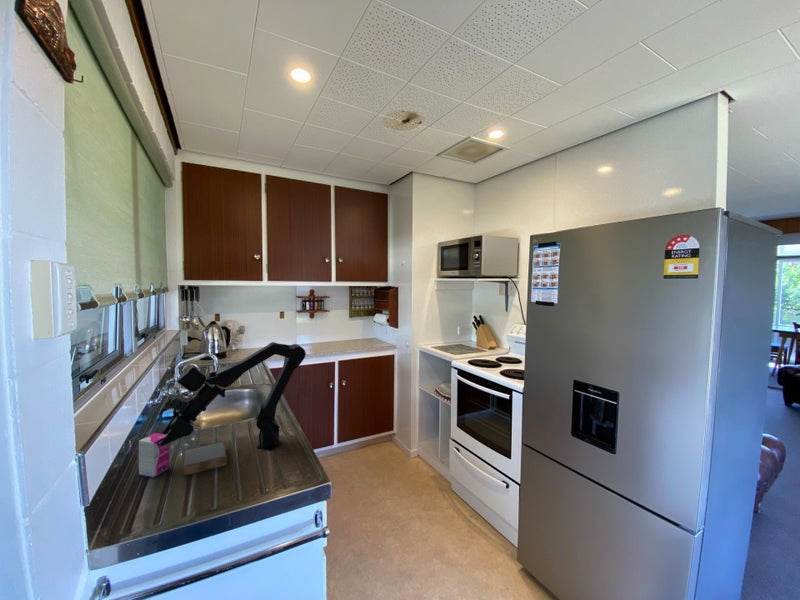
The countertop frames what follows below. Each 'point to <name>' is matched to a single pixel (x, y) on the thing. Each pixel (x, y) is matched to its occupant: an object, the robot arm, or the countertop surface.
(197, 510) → the countertop surface
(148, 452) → the supplement box
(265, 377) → the countertop surface
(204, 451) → the walnut base
